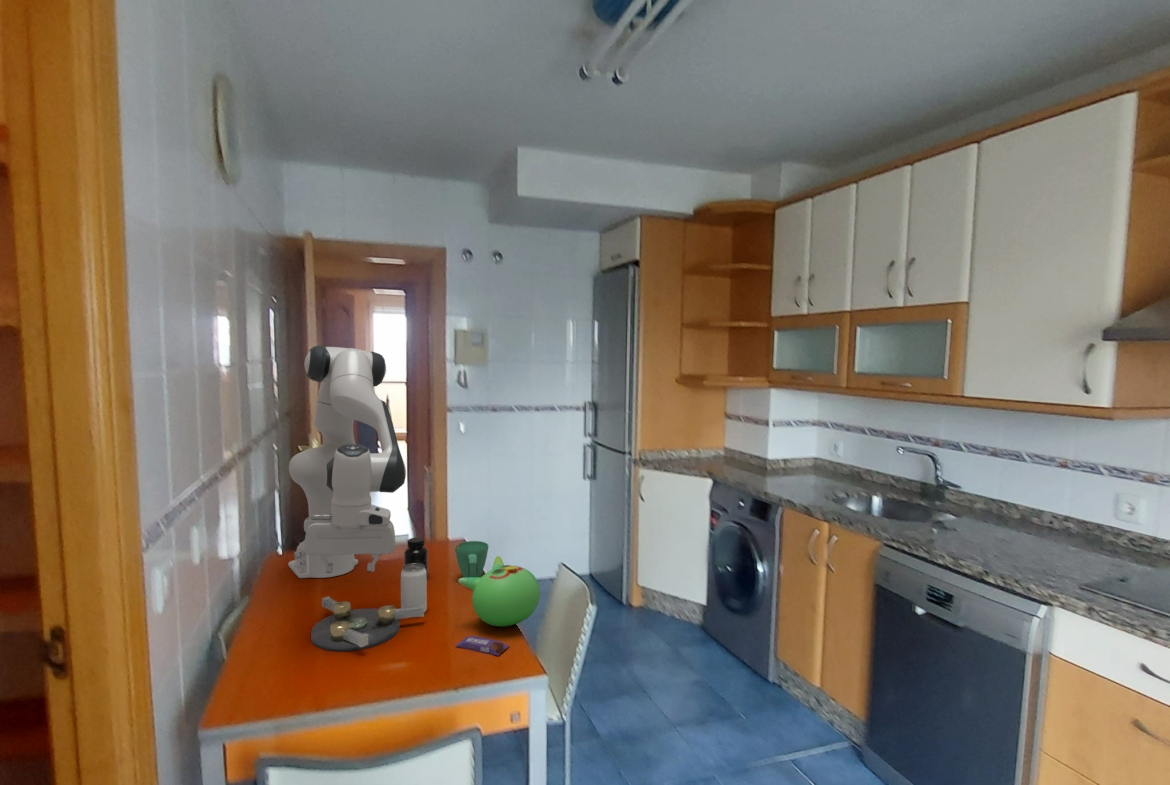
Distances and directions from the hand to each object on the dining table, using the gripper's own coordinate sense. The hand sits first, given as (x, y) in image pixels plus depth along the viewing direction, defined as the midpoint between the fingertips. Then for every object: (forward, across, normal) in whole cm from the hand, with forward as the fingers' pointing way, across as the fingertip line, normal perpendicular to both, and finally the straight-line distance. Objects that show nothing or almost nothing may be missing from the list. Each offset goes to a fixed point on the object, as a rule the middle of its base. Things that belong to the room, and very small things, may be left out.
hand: (350, 571), depth 146 cm
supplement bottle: (+16, +13, +36) cm, 41 cm away
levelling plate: (+16, +2, +2) cm, 16 cm away
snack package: (+15, +31, -12) cm, 37 cm away
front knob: (+14, +1, -7) cm, 15 cm away
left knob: (+13, +12, +3) cm, 18 cm away
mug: (+15, +30, +30) cm, 45 cm away
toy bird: (+14, +37, +1) cm, 40 cm away
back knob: (+14, -5, +10) cm, 18 cm away
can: (+16, +14, +11) cm, 24 cm away
